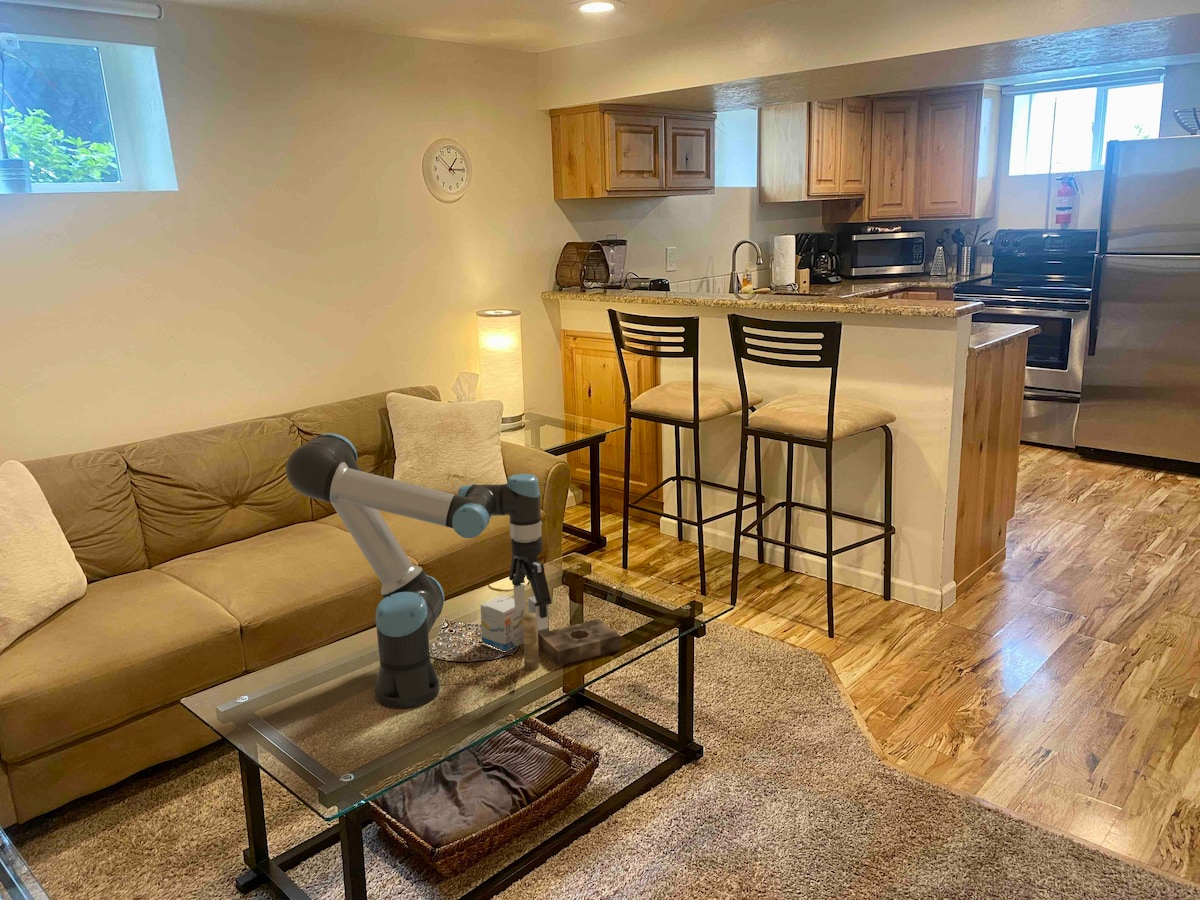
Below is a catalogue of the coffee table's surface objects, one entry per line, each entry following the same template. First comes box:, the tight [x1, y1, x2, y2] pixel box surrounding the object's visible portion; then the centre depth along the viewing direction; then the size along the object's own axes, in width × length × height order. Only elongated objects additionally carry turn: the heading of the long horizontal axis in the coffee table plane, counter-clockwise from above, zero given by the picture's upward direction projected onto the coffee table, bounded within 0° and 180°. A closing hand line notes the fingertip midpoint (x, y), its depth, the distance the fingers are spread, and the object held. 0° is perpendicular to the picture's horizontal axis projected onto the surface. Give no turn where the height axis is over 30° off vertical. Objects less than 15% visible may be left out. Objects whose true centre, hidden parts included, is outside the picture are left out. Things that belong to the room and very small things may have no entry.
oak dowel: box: [522, 611, 540, 671], centre depth 221 cm, size 4×4×14 cm
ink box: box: [480, 595, 525, 651], centre depth 235 cm, size 9×8×12 cm
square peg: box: [527, 595, 550, 645], centre depth 237 cm, size 4×4×12 cm
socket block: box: [538, 618, 622, 667], centre depth 232 cm, size 18×12×4 cm, turn 118°
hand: (531, 618), depth 220 cm, fingers open, 13 cm apart
